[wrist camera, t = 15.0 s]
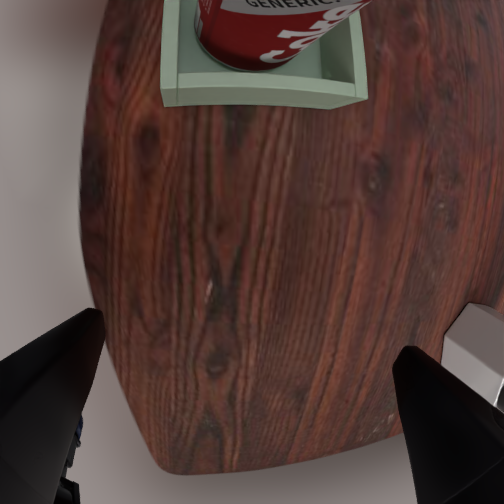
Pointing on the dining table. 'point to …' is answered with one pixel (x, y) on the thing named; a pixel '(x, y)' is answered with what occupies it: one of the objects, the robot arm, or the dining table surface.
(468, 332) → the jar
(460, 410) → the robot arm
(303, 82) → the bin
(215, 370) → the dining table surface
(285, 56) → the soda can
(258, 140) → the dining table surface
